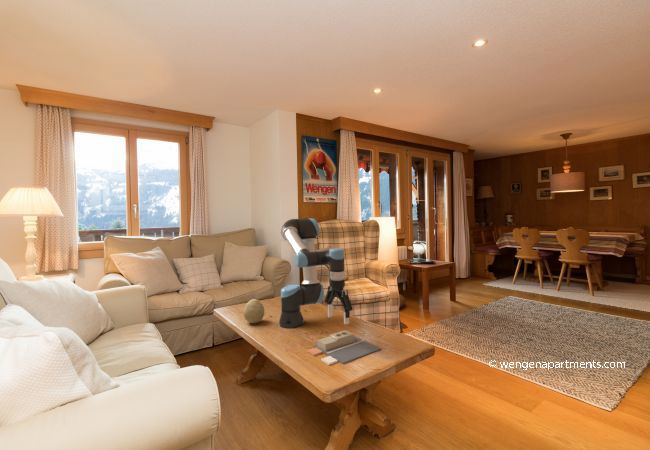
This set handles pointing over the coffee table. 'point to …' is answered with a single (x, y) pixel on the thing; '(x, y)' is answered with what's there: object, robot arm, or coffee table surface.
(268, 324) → the coffee table surface
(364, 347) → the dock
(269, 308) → the coffee table surface
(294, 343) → the coffee table surface
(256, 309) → the fossilized egg
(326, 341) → the electrical outlet
